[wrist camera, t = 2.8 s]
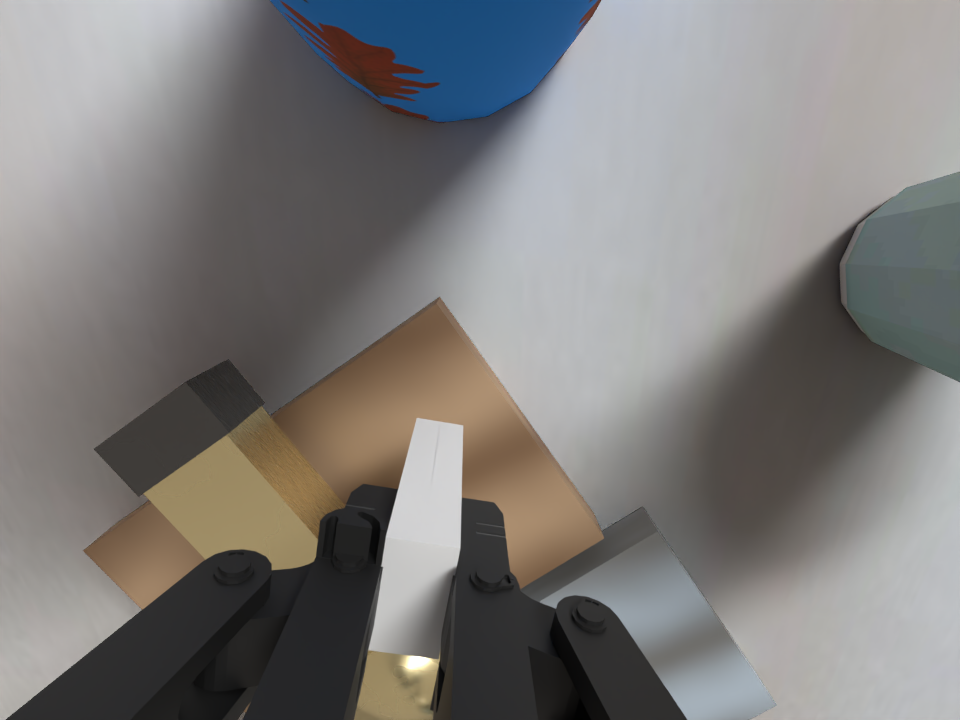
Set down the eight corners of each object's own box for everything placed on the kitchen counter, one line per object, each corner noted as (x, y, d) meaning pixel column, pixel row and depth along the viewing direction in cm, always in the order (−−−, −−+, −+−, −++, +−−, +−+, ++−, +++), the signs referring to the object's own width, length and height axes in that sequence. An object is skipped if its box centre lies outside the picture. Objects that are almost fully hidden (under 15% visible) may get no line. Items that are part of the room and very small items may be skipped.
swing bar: (480, 643, 22) (482, 715, 19) (397, 693, 23) (384, 771, 20) (239, 352, 19) (190, 378, 16) (148, 418, 20) (83, 456, 16)
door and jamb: (754, 669, 26) (818, 769, 21) (428, 847, 29) (419, 972, 24) (480, 268, 21) (482, 280, 16) (114, 524, 24) (23, 600, 19)
